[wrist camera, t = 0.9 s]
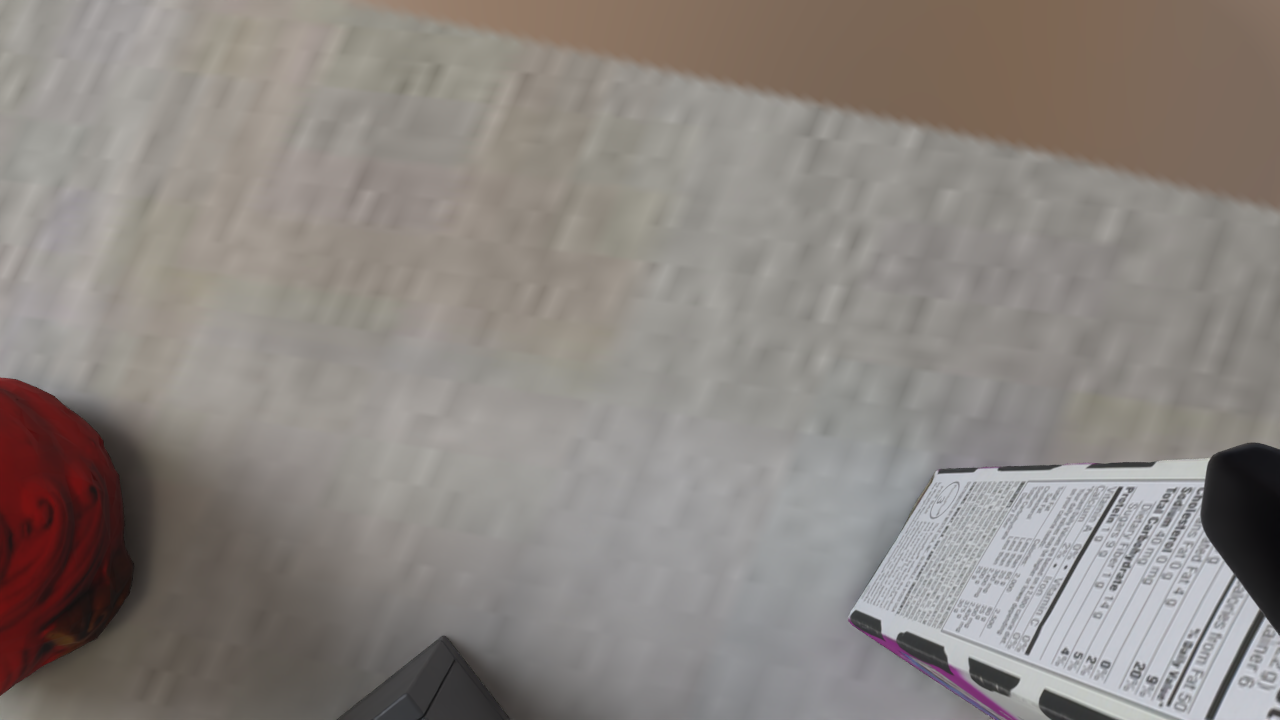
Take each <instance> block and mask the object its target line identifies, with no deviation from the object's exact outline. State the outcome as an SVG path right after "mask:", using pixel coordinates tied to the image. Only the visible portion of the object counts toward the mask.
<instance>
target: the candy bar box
mask: <svg viewBox="0 0 1280 720" xmlns="http://www.w3.org/2000/svg"><path fill="white" fill-rule="evenodd" d="M1210 459H1211V458H1204V459H1179V460H1161V461H1156V462H1151V463H1146V462H1123V463H1108V464H1099V463H1076V464H1065V465H1049V466H1046V465H1040V466H1014V467H1013V466H1007V467H983V468H956V469H939V470H937V471H936V472H935V473H934V475H933V477H932V478H931V480H930V481H929V483H928V484H927V486H926V488H925V489H924V491H923V492H922V494H921V495H920V497H919V498H918V500H917V501H916V503H915V505H914V507H913V509H912V511H911V513H910V515H909V517H908V519H907V521H906V523H905V525H904V527H903V529H902V531H901V533H900V535H899V536H898V538H897V539H896V541H895V543H894V544H893V546H892V547H891V548H890V550H889V551H888V553H887V555H886V556H885V558H884V560H883V561H882V562H881V564H880V566H879V567H878V569H877V570H876V572H875V574H874V575H873V577H872V578H871V580H870V582H869V583H868V585H867V586H866V588H865V590H864V592H863V593H862V595H861V596H860V598H859V600H858V601H857V603H856V604H855V606H854V607H853V609H852V610H851V612H850V614H849V617H848V621H849V622H850V623H851V624H852V625H853V626H854V627H856V628H857V629H859V630H860V631H862V632H863V633H865V634H866V635H868V636H869V637H871V638H872V639H874V640H875V641H877V642H878V643H880V644H881V645H883V646H884V647H886V648H887V649H889V650H890V651H892V652H893V653H895V654H896V655H898V656H899V657H901V658H902V659H904V660H905V661H907V662H908V663H910V664H911V665H913V666H914V667H916V668H917V669H919V670H920V671H922V672H923V673H925V674H926V675H928V676H929V677H931V678H932V679H934V680H935V681H937V682H938V683H940V684H941V685H943V686H944V687H946V688H947V689H949V690H950V691H952V692H954V693H955V694H957V695H958V696H960V697H961V698H963V699H964V700H966V701H967V702H969V703H970V704H972V705H974V706H975V707H977V708H978V709H980V710H981V711H983V712H984V713H986V714H987V715H989V716H990V717H992V718H993V719H995V720H1280V636H1279V635H1278V633H1277V632H1276V631H1275V629H1274V628H1273V627H1272V625H1271V624H1270V622H1269V621H1268V620H1267V618H1266V617H1265V616H1264V614H1263V613H1262V612H1261V610H1260V609H1259V608H1258V606H1257V605H1256V603H1255V602H1254V601H1253V599H1252V598H1251V597H1250V595H1249V594H1248V593H1247V591H1246V590H1245V589H1244V587H1243V586H1242V584H1241V583H1240V582H1239V580H1238V579H1237V578H1236V576H1235V575H1234V574H1233V572H1232V571H1231V569H1230V568H1229V567H1228V565H1227V564H1226V563H1225V561H1224V560H1223V559H1222V557H1221V556H1220V555H1219V553H1218V552H1217V550H1216V549H1215V548H1214V546H1213V545H1212V544H1211V542H1210V541H1209V539H1208V538H1207V536H1206V534H1205V532H1204V530H1203V527H1202V524H1201V518H1200V510H1201V503H1202V497H1203V490H1204V483H1205V476H1206V469H1207V465H1208V462H1209V460H1210Z"/></svg>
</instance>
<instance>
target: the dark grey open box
mask: <svg viewBox="0 0 1280 720" xmlns="http://www.w3.org/2000/svg"><path fill="white" fill-rule="evenodd" d="M337 720H510V719H509V717H508V716H507V715H506V713H505V712H504V711H503V710H502V708H501V707H500V706H499V704H498V703H497V702H496V700H495V699H494V698H493V697H492V695H491V694H490V693H489V691H488V690H487V689H486V688H485V686H484V685H483V684H482V682H481V681H480V680H479V679H478V677H477V676H476V675H475V673H474V672H473V671H472V669H471V668H470V667H469V666H468V664H467V663H466V662H465V660H464V659H463V658H462V657H461V655H460V654H459V653H458V651H457V650H456V649H455V647H454V646H453V645H452V644H451V642H450V641H449V640H448V638H447V637H446V636H442V637H440V638H439V639H438V640H437V641H435V642H434V643H433V644H432V645H430V646H429V647H428V648H427V649H425V650H424V651H423V652H422V653H420V654H419V655H418V656H416V657H415V658H414V659H413V660H411V661H410V662H409V663H408V664H406V665H405V666H404V667H403V668H401V669H400V670H399V671H398V672H396V673H395V674H394V675H392V676H391V677H390V678H389V679H387V680H386V681H385V682H384V683H382V684H381V685H380V686H379V687H377V688H376V689H375V690H374V691H372V692H371V693H370V694H368V695H367V696H366V697H365V698H363V699H362V700H361V701H360V702H358V703H357V704H356V705H355V706H353V707H352V708H351V709H350V710H348V711H347V712H346V713H344V714H343V715H342V716H341V717H339V718H338V719H337Z"/></svg>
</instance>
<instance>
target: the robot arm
mask: <svg viewBox="0 0 1280 720" xmlns="http://www.w3.org/2000/svg"><path fill="white" fill-rule="evenodd" d="M1200 518H1201V524H1202V527H1203V530H1204V532H1205V534H1206V536H1207V538H1208V539H1209V541H1210V542H1211V544H1212V545H1213V546H1214V548H1215V549H1216V550H1217V552H1218V553H1219V555H1220V556H1221V557H1222V559H1223V560H1224V561H1225V563H1226V564H1227V565H1228V567H1229V568H1230V569H1231V571H1232V572H1233V574H1234V575H1235V576H1236V578H1237V579H1238V580H1239V582H1240V583H1241V584H1242V586H1243V587H1244V589H1245V590H1246V591H1247V593H1248V594H1249V595H1250V597H1251V598H1252V599H1253V601H1254V602H1255V603H1256V605H1257V606H1258V608H1259V609H1260V610H1261V612H1262V613H1263V614H1264V616H1265V617H1266V618H1267V620H1268V621H1269V622H1270V624H1271V625H1272V627H1273V628H1274V629H1275V631H1276V632H1277V633H1278V635H1279V636H1280V449H1277V448H1274V447H1271V446H1268V445H1264V444H1260V443H1246V444H1242V445H1239V446H1236V447H1233V448H1230V449H1227V450H1224V451H1221V452H1218V453H1216V454H1214V455H1213V456H1212V457H1211V459H1210V460H1209V462H1208V465H1207V469H1206V476H1205V483H1204V490H1203V497H1202V503H1201V510H1200Z"/></svg>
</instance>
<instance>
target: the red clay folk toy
mask: <svg viewBox="0 0 1280 720" xmlns="http://www.w3.org/2000/svg"><path fill="white" fill-rule="evenodd" d="M124 527H125V523H124V510H123V500H122V493H121V486H120V479H119V474H118V473H117V471H116V470H115V468H114V466H113V463H112V461H111V459H110V456H109V454H108V452H107V451H106V449H105V447H104V444H103V440H102V438H101V437H100V436H99V434H98V433H97V432H96V431H95V430H94V429H93V428H92V427H91V426H90V425H89V424H88V423H87V422H86V421H85V420H84V419H82V418H81V417H80V416H79V415H77V414H76V413H75V412H73V411H72V410H70V409H69V408H67V407H66V406H64V405H63V404H62V403H61V402H60V401H59V400H58V399H57V398H56V397H55V396H53V395H51V394H49V393H47V392H45V391H43V390H41V389H39V388H37V387H34V386H32V385H29V384H27V383H24V382H22V381H19V380H16V379H8V378H0V696H1V695H2V694H3V693H5V692H6V691H7V690H9V689H10V688H11V687H12V686H14V685H15V684H17V683H18V682H20V681H21V680H23V679H24V678H26V677H28V676H29V675H31V674H32V673H34V672H35V671H37V670H38V669H39V668H41V667H42V666H44V665H45V664H47V663H50V662H52V661H54V660H56V659H58V658H60V657H62V656H64V655H66V654H68V653H70V652H72V651H74V650H76V649H77V648H79V647H81V646H83V645H85V644H87V643H89V642H91V641H92V640H94V639H96V638H97V637H98V636H99V635H100V634H101V632H102V631H103V630H104V629H105V627H106V626H107V625H108V624H109V622H110V621H111V620H112V618H113V617H114V616H115V614H116V613H117V612H118V611H119V609H120V607H121V605H122V604H123V602H124V600H125V599H126V598H127V596H128V595H129V593H130V589H131V584H132V579H133V569H134V563H133V562H132V560H131V558H130V556H129V554H128V552H127V550H126V548H125V543H124V536H123V534H124Z"/></svg>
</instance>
